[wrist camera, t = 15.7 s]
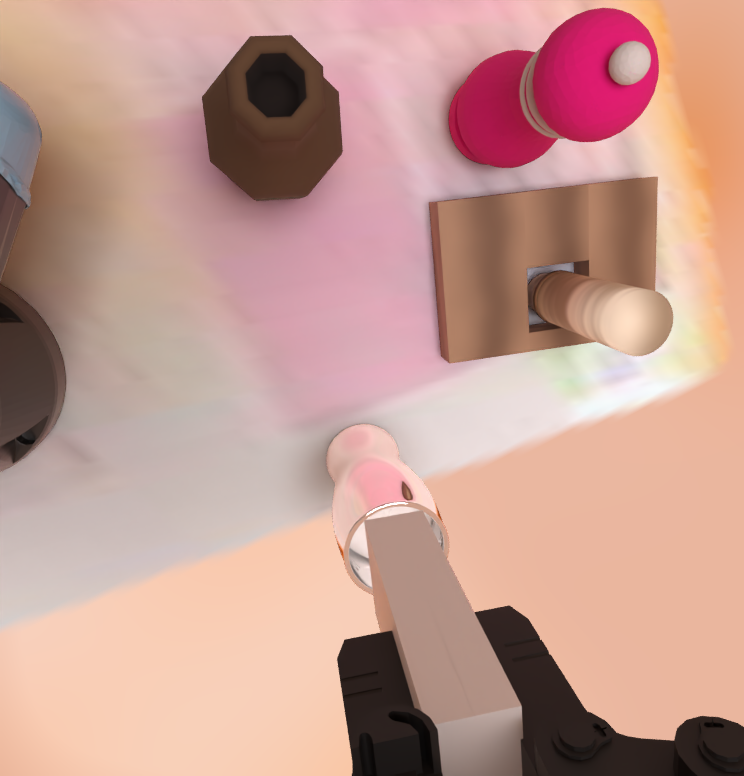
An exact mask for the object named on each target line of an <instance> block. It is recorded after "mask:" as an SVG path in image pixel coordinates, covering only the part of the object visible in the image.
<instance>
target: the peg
mask: <svg viewBox="0 0 744 776" xmlns="http://www.w3.org/2000/svg"><path fill="white" fill-rule="evenodd" d="M527 290H528V305H529V306H530V307H531V308H532V309H533V310H534V311H536V313H537V314H538V316H539V317H540V318H541V319H542V320H544V321H546V322H548V323H551V324H554V325H557V326H560V327H562V328H564V329H567V330H569V331H572V332H574V333H577V334H579V335H581V336H584V337H586V338H589V339H591V340H594V341H596V342H599V343H601V344H603V345H606V346H608V347H611V348H613V349H616V350H618V351H620V352H623V353H625V354H628V355H632V356H643V355H647V354H650V353H652V352H654V351H655V350H657V349H658V348H659V347H660V346H661V345H662V344H663V343H664V342H665V341H666V339H667V337H668V336H669V334H670V331H671V328H672V324H673V312H672V308H671V305H670V303H669V302H668V300H667V299H666V298H665V297H664V296H663V295H662V294H660V293H658V292H656V291H652V290H648V289H643V288H639V287H634V286H629V285H625V284H620V283H616V282H611V281H606V280H602V279H597V278H593V277H588V276H583V275H579V274H574V273H572V272H568V271H562V270H560V271H554V272H551V273H543V274H540V275H538V276H536V277H535V278H533V279H532V280H531V282H530V283H529V285H528V287H527Z"/></svg>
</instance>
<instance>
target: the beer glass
mask: <svg viewBox="0 0 744 776" xmlns="http://www.w3.org/2000/svg"><path fill="white" fill-rule="evenodd" d="M326 465H327V469H328V472H329V474H330V476H331V478H332V480H333V481H334V482H335V488H334V494H333V502H332V519H333V526H334V532H335V536H336V540H337V544H338V546H339V550H340V552H341V555H342V558H343V560H344V564H345V567H346V570H347V573H348V574H349V576H350V578H351V579H352V580H353V582H354V583H355V584H356V585H357V586H358V587H360V588H361V589H362V590H364V591H366V592H368V593H370V594H372V595H373V588H372V580H371V572H370V564H369V556H368V548H367V540H366V532H365V524H364V520H369V519H375V518H381V517H386V516H392V515H398V514H404V513H409V512H415V511H421V510H423V512H424V514H425V516H426V518H427V520H428V522H429V524H430V526H431V528H432V530H433V532H434V534H435V536H436V538H437V540H438V542H439V544H440V546H441V548H442V550H443V552H444V554H445V556H446V558H447V557H448V553H449V537H448V533H447V530H446V527H445V525H444V524H443V521H442V518H441V516H440V513H439V511H438V508H437V506H436V504H435V501H434V499H433V497H432V495H431V493H430V492H429V490H428V489H427V487H426V486H425V484H424V483H423V481H422V480H421V479H420V478H419V477H418V476H417V475H416V473H415V472H414V471H413V470H412V469H410V468H409V467H408V466H407V465H406V464H405V463H403V462H402V461H401V460H400V459H399V451H398V447H397V445H396V442H395V441H394V439H393V438H392V436H391V435H390V434H389V433H388V432H387V431H385V430H384V429H382V428H380V427H378V426H375V425H370V424H358V425H354V426H351V427H348V428H346V429H344V430H343V431H341V432H340V433H339V434H338V435H337V436H336V437H335V438H334V439H333V441H332V442H331V444H330V446H329V448H328V451H327V455H326Z"/></svg>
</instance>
